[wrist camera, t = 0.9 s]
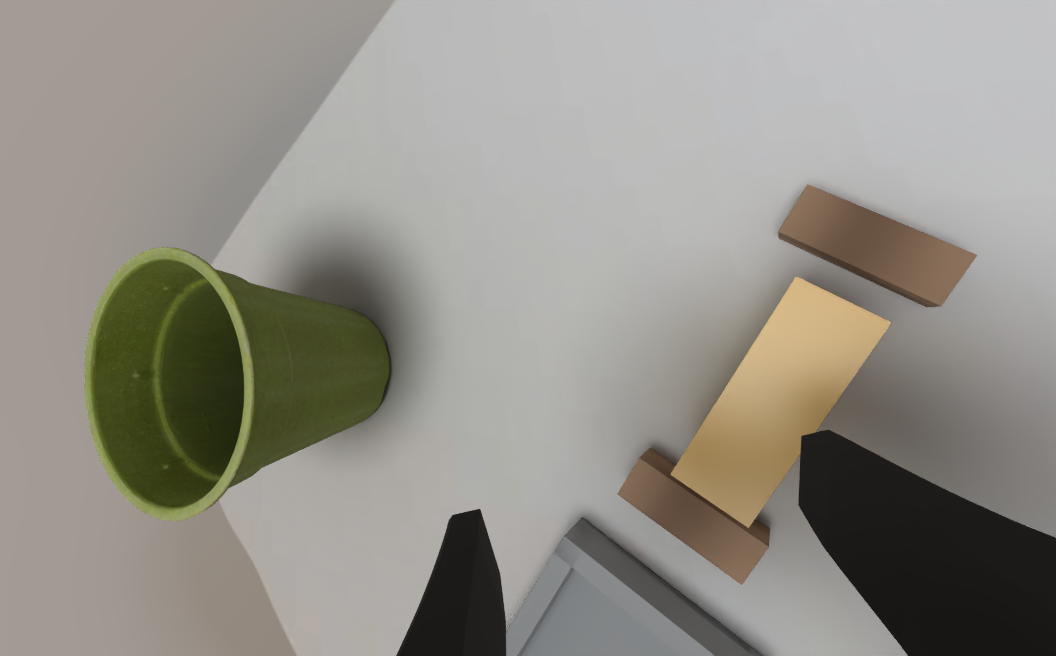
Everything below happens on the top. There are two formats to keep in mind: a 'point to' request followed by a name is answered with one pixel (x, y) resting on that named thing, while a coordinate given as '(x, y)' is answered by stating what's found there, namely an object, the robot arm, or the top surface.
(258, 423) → the plant pot
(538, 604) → the tray
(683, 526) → the brown block pair
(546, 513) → the top surface
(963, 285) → the top surface
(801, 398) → the block
